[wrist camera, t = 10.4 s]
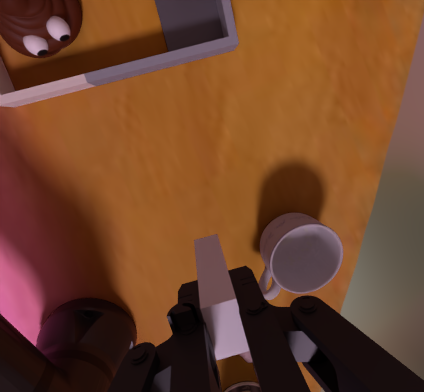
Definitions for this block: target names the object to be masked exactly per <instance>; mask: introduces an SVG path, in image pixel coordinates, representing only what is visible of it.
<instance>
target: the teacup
mask: <svg viewBox="0 0 424 392" xmlns="http://www.w3.org/2000/svg"><path fill="white" fill-rule="evenodd" d="M260 253H261V256H262V259H263V261H264V263H265V270H264V272H263V274H262V276H261V278H260V280H259V283H258V285H259V287H260V289H261V291H262V294H263V296H264V298H265V299H267V300H271V299H273V298H275V297H276V296H277V295H278V293H279V291H280V289H281V288H283V289H285V290H287V291H289V292H293V293H308V292H312V291H315V290H317V289H319V288H321V287H323V286H324V285H326V284H327V283H328V282H330V281H331V280H332V278H333V277H334V276H335V275H336V273H337V272H338V270H339V268H340V266H341V263H342V259H343V247H342V243H341V241H340V238H339V237H338V235H337V234H336V233H335V232H334V231H333V230H332V229H331V228H329V227H327V226H325V225H323V224H322V223H320V222H319V221H317V220H316V219H314V218H312V217H311V216H308V215H306V214H302V213H287V214H283V215H281V216H279V217H277V218H275V219H274V220H272V221H271V222H270V223H269V224H268V225H267V227H266V228H265V230H264V231H263V233H262V236H261V240H260ZM271 276H272V285H271V287H270V289H269V290H267V291H266V288H267V284H268V282H269V279H270V277H271Z"/></svg>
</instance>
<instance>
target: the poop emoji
mask: <svg viewBox="0 0 424 392" xmlns="http://www.w3.org/2000/svg"><path fill="white" fill-rule="evenodd" d="M81 24H82V13H81V8H80V5H79V2H78V0H0V35H1V36H2V38H3V39H4V40H5V41H6V42H7V44H9V45H10V46H11V47H12V48H13V49H15V50H16V51H18V52H19V53H21V54H24V55H26V56H29V57H34V58H46V57H50V56H52V55H54V54H56V53H58V52H59V51H60V50H61V49H62V48H65V47H67V46H68V45H70V44H71V43H72V42H73V41H74V40H75V39H76V37H77V36H78V34H79V31H80V29H81Z"/></svg>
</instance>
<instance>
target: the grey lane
mask: <svg viewBox="0 0 424 392" xmlns="http://www.w3.org/2000/svg"><path fill="white" fill-rule="evenodd" d="M155 3H156V7H157V10H158V14H159V18H160V21H161V25H162V29H163V33H164V36H165V40H166V44H167V47H168V51H169V52H167V53H163V54H159V55H155V56H151V57H147V58H143V59H140V60H136V61H132V62H128V63H124V64H120V65H116V66H112V67H108V68H105V69H101V70H97V71H93V72H89V73H85V74H84V76H85V78H86V81H87V83H89V84H92V85H94V86H98V85H102V84H106V83H110V82H114V81H118V80H122V79H125V78H129V77H133V76H137V75H141V74H145V73H149V72H152V71H156V70H160V69H164V68H168V67H172V66H176V65H179V64H183V63H187V62H191V61H195V60H199V59H203V58H207V57H210V56H214V55H218V54H222V53H226V52H230V51H234V49H235V48H236V47H237V45H238V44H239V42H238V37H237V32H236V27H235V22H234V17H233V12H232V7H231V2H230V0H155Z"/></svg>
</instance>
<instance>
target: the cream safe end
mask: <svg viewBox="0 0 424 392" xmlns="http://www.w3.org/2000/svg"><path fill="white" fill-rule="evenodd" d="M91 87H94V85H92V84H89V83H87V81H86V78H85V76H84V74H81V75H77V76H73V77H70V78H66V79H62V80H58V81H54V82H50V83H46V84H42V85H38V86H35V87H31V88H27V89H23V90H19V91H15V89H14V86H13V84H12V82H11V79H10V77H9V75H8V72H7V70H6V68H5V65H4V63H3V61H2V58H1V56H0V106H5V107H17V106H21V105H25V104H29V103H33V102H36V101H40V100H44V99H48V98H52V97H56V96H60V95H64V94H67V93H71V92H75V91H79V90H83V89H87V88H91Z"/></svg>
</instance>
